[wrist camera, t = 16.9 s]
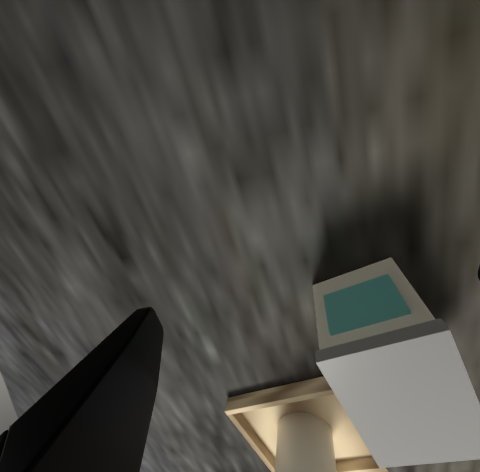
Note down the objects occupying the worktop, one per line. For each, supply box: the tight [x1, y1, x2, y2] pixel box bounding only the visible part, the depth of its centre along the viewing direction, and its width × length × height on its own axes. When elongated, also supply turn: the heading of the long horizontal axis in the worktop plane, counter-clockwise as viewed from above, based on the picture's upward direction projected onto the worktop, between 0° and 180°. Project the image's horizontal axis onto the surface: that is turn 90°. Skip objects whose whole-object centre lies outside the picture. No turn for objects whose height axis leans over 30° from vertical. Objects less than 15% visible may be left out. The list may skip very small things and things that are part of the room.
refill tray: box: [224, 376, 388, 472], centre depth 27 cm, size 12×12×2 cm
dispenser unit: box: [312, 257, 480, 468], centre depth 18 cm, size 6×10×8 cm
